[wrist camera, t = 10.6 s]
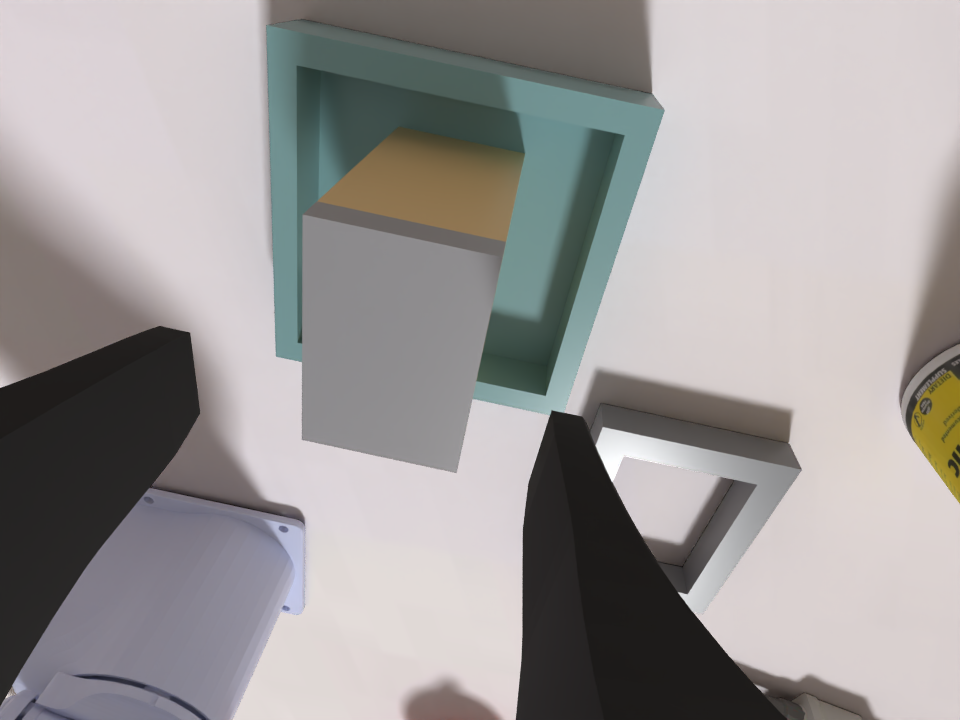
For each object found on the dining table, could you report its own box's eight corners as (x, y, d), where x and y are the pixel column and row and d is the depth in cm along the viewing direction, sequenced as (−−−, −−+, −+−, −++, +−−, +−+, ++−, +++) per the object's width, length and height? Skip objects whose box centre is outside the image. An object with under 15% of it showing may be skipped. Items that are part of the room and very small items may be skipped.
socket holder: (544, 554, 29) (543, 580, 28) (600, 403, 24) (603, 427, 22) (697, 587, 29) (702, 614, 28) (789, 443, 24) (801, 469, 22)
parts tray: (301, 322, 23) (276, 356, 21) (301, 19, 17) (266, 25, 15) (562, 378, 23) (562, 417, 21) (652, 94, 17) (664, 109, 15)
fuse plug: (383, 295, 21) (301, 439, 15) (398, 126, 18) (302, 214, 11) (489, 318, 21) (456, 473, 15) (525, 153, 18) (502, 257, 11)
